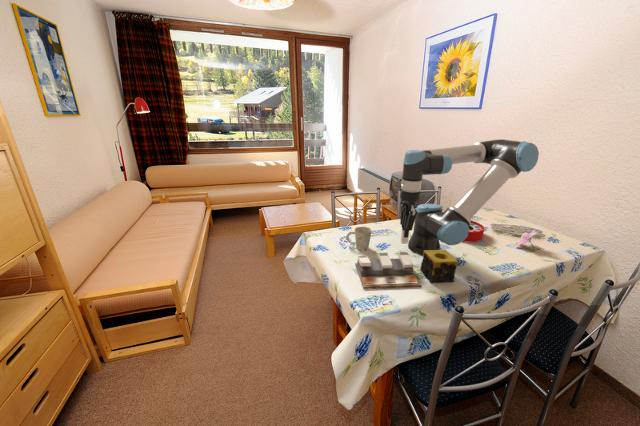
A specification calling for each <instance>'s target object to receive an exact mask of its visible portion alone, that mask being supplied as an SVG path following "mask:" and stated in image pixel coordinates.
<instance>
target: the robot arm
mask: <svg viewBox="0 0 640 426" xmlns="http://www.w3.org/2000/svg"><path fill="white" fill-rule="evenodd" d="M539 154H540V153H539V149H538V147H537V145H536V144H535V143H532V142H529V141H528V142H527V141H524V140H523V141H520V140H519V141H518V140H510V139H492V140H485V141H478V142H474V143H473V144H471V145H462V146H455V147H454V146H453V147H445V148H443V147H442V148H434V149H428V150H427V149H426V150H418V149H411V150H407V151H406V152H405V153H404V157H403V166H402V177H401V182H400V185H401V187H400V188H401V189H400V193H399V194H400V195H399V199H400V200H401V201H400V202H399V203H400V217H399V218H400V222H399V225H400V226H401V233H400V244H405V245H406V244H407V248H408V249H409V250H410V251H411V252H414V253H416V254H419V255H423V251H424V250H441V245H440V242H441V243H443V244H446V245H448V246H456V245H459V244H461V243H463V242H465V241H464V240H465V239H466V238H467V236H468V233H469V226H470V224H471V223H470V220H471V219H472V218H473V217H474V216H475V215H476V214H477V213H478V212H479V211H480V209H482V208H483V207H484V206H485V205H486V204H487V203H488V201H489V200H490V199H491V198H492V197H493V196H494V195H495V194H496V193H497V192H498V191H499V190H500V189H501V188H502V186H504V184H506V183H507V182H508V180H509V179H514V178H517V177H518V176H519V174H521V173H523V172H524V173H526V172H530V171H532V170H533V169H534V167H536V165H537V163H538V160H539ZM465 163H466V164H467V163H474V164H487V165H488V164H489V165H490V167H489V168H488V170H486V172H485V173H484V174H483V175H482V176H481V177H480V178H479V179H478V180H476V182H475V183H474V184H473V185H472V186H471V187H470V189H468V191H467V192H466V193H465V194H464V195H463V196H462V197H461V198H460V199H459V200H458V201H457V202H456V203H455V205H453V206H450V207H447V208H446V209H445V210H444V211H443V206H442V205H440V204H436V203H421V204H419V205H417V206H416V202H418V201H419V200H420V197H421V189H422V184H423V176H428V175H433V176H434V175H444V174H448V173H449V172H451V170H452V167H453V165H457V164H465ZM415 208H416V209H415ZM410 231H413V232H412V235H411V236H410ZM409 236H410V238H409Z"/></svg>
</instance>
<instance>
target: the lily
mask: <svg viewBox="0 0 640 426" xmlns="http://www.w3.org/2000/svg"><path fill="white" fill-rule="evenodd" d="M536 234H538V232H536V229H534V230H532V231H530V233H529V232H523V233H522V235H521V238H520V239H519V240H518V241H517V242H516V245H515V247H514V248H515V249H517V247H519V246H520V245H522V244H523V243H524V244H529V243H530V244H531V245H532V248H533V249H534V250H535V249H536V248H535V246H534V245H533V243H532V242H531V241H532V237H533V236H535V235H536Z"/></svg>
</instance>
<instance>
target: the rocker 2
mask: <svg viewBox="0 0 640 426" xmlns="http://www.w3.org/2000/svg"><path fill="white" fill-rule="evenodd" d="M397 256H398V259H400V261H401V263H402V265H403V267H404V268H407V267H413V268H414V265H415V264H414V262H413V259H412V258H411V257H410V256H411V255H410V254H409V252H408V251H401V252H400V251H399V252H397Z"/></svg>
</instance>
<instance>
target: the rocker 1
mask: <svg viewBox="0 0 640 426" xmlns="http://www.w3.org/2000/svg"><path fill="white" fill-rule="evenodd" d="M357 260H358V261H359V263H360V265H361V266H371V262H370V260H371V259H369V257H368V256H367V255H358V256H357Z"/></svg>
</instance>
